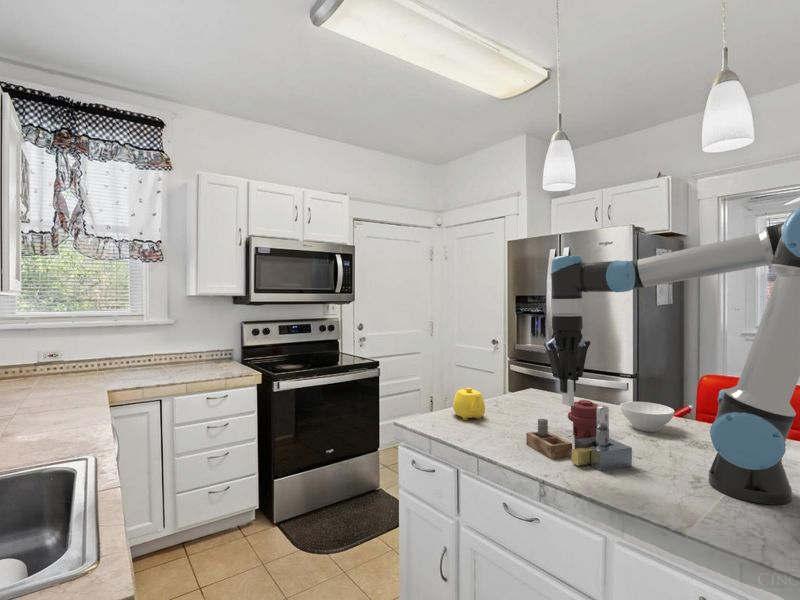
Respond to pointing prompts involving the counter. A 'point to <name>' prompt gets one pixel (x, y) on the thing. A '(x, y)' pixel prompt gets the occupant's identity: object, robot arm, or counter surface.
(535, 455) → the counter surface
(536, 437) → the frame
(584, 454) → the bar
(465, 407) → the teapot
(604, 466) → the socket block
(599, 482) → the counter surface
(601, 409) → the grey cylindrical peg
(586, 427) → the mechanical component
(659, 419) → the bowl
